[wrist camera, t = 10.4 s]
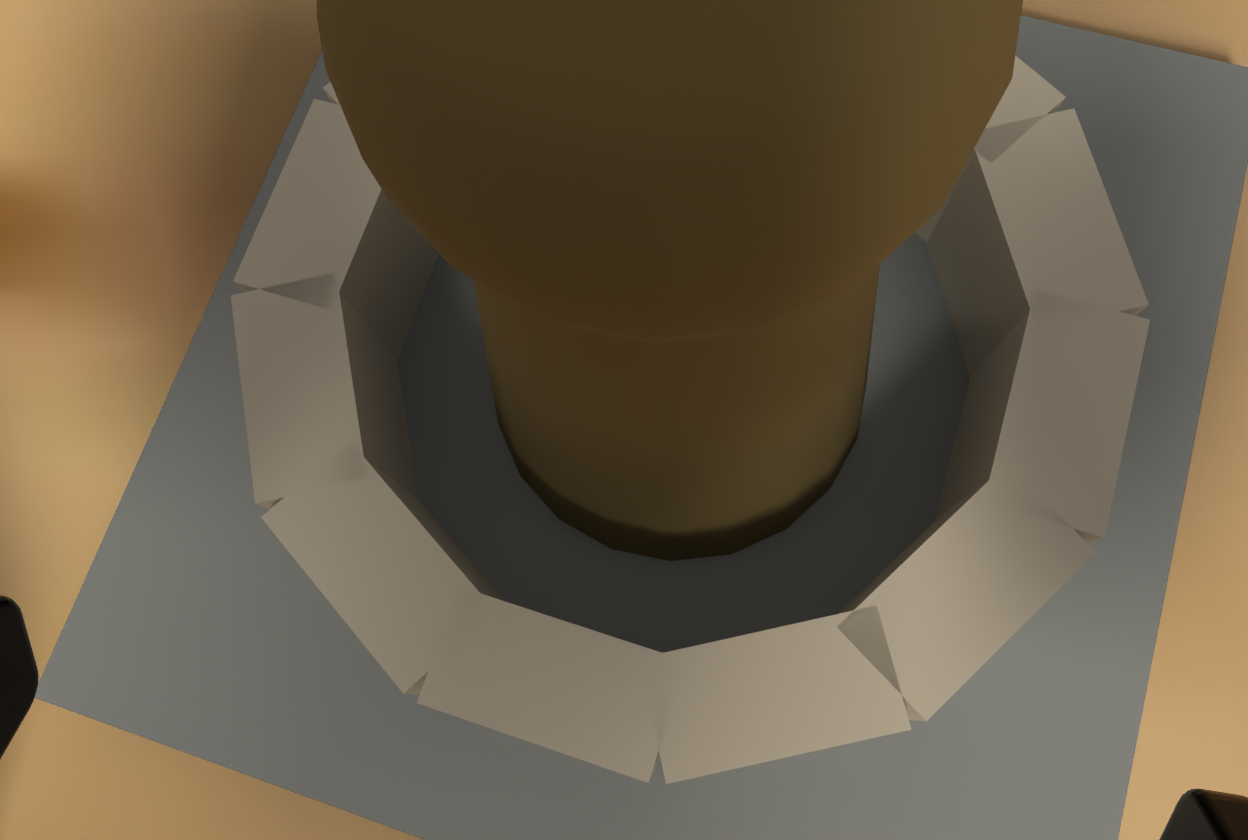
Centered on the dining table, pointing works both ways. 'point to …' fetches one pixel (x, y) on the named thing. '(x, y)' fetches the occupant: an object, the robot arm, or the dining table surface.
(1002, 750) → the mount
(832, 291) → the cork
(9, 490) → the dining table surface
